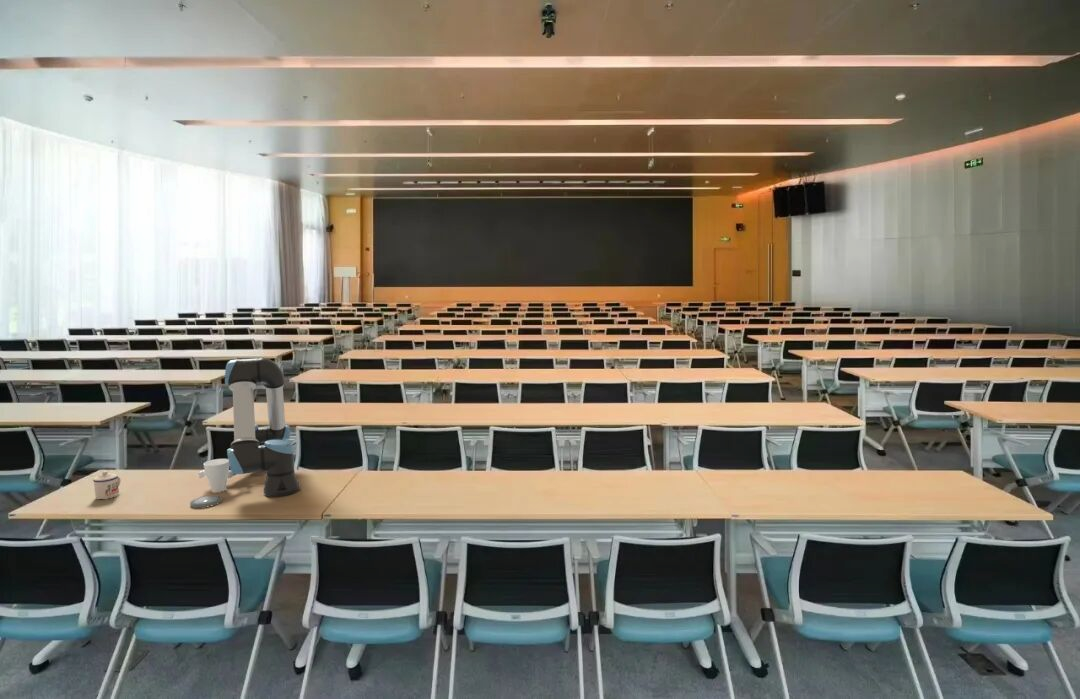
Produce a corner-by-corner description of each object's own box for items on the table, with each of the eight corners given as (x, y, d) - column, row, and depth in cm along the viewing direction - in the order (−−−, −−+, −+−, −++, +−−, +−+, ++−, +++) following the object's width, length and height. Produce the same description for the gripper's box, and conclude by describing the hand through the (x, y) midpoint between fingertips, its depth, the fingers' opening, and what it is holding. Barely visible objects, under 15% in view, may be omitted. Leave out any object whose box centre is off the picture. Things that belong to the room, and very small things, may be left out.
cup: (214, 486, 289) (211, 458, 288) (236, 486, 289) (233, 458, 287) (201, 494, 279) (198, 465, 277) (224, 494, 279) (221, 465, 277)
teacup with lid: (108, 500, 274) (105, 475, 272) (89, 499, 275) (87, 474, 274) (129, 491, 285) (127, 466, 284) (112, 490, 287) (109, 466, 285)
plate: (228, 499, 272) (227, 497, 271) (204, 509, 260) (204, 506, 260) (207, 496, 276) (207, 494, 276) (183, 506, 265) (183, 503, 264)
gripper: (265, 469, 301) (240, 483, 280) (217, 468, 303) (188, 483, 282) (264, 454, 300) (239, 467, 279) (216, 453, 302) (187, 467, 281)
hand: (214, 475), depth 281 cm, fingers open, 13 cm apart
